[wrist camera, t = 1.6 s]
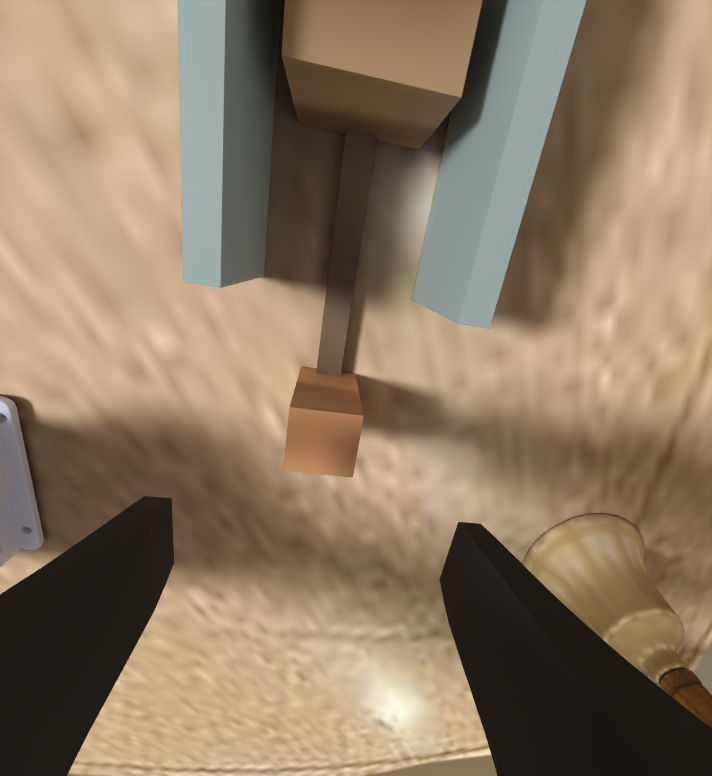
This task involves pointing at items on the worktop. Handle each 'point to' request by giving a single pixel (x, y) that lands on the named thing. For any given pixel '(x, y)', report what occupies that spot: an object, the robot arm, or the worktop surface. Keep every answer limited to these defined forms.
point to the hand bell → (618, 599)
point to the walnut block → (362, 164)
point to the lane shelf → (458, 163)
